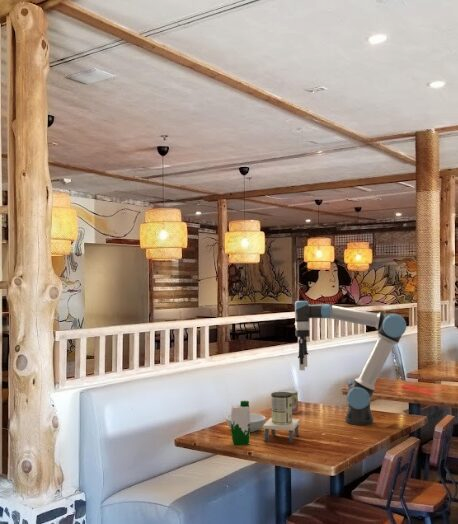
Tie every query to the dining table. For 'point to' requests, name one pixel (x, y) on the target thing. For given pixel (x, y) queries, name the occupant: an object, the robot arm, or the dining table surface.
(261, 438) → the dining table surface
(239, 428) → the milk carton
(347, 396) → the robot arm
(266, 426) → the peg stand
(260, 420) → the serving bowl
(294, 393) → the canned food
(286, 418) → the coffee can
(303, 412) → the dining table surface
